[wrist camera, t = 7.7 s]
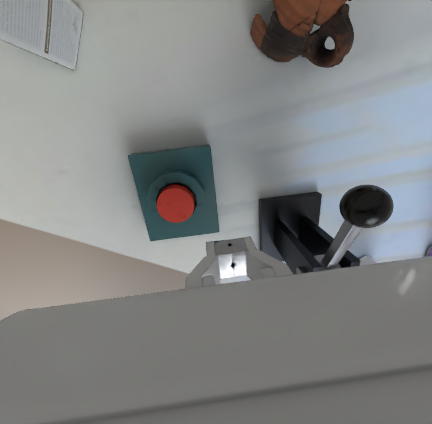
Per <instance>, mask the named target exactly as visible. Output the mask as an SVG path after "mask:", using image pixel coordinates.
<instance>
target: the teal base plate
mask: <svg viewBox="0 0 432 424" xmlns="http://www.w3.org/2000/svg"><path fill="white" fill-rule="evenodd" d="M128 159H129V162H130V166H131V170H132V174H133V177H134V181H135V185H136V189H137V192H138V196H139V200H140V204H141V207H142V211H143V215H144V219H145V223H146V226H147V230H148V234H149V238H150V241H155V240H163V239H171V238H178V237H186V236H194V235H201V234H209V233H217V232H219V223H218V213H217V204H216V195H215V185H214V176H213V167H212V157H211V148H210V145H202V146H193V147H184V148H176V149H167V150H158V151H149V152H141V153H133V154H130V155H128ZM173 184H179V185H183V186H185V187H187V188H188V189H189V190H190V191H191V192H192V194H193V196H194V211H193V213H192V215H191V216H190V217H189V218H188V219H187V220H185V221H183V222H178V223H174V222H170V221H167V220H165V219H164V218H163V217H162V216H161V215H160V214H159V212H158V210H157V199H158V197H159V195H160V193H161V192H162V190H163V189H164V188H166V187H167V186H169V185H173Z"/></svg>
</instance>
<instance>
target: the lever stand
mask: <svg viewBox="0 0 432 424" xmlns="http://www.w3.org/2000/svg"><path fill="white" fill-rule="evenodd" d="M321 197H322V194H320V193H319V192H313V193H305V194H297V195H289V196H281V197H273V198H265V199H259V223H260V251H262V252H264V253H266V254H268V255H270V256H271V257H273V258H275V259H277V260H279V261H285V262H286V264H287V265H288V267H289V268H290V270H291V272H292V273H293V275H294V274H301V273H309V272H316V271H322V265H321V264H320V263H319V262H318V261H317V260H316V259H315V257H314V256H316V255H323V254H326V252H327V250H328V249H329V247H330V245H331V244H332V242H333V240H334V239H333V238H332V237H331V236H330V235H329V234H327V233H326V232H325V231H324V230H323V229H321V228H320V227H319V226H318V224H319V215H320V206H321ZM360 262H361V261H360V260H359V259H358V258H357V257H355V256H354V255H353V254H352V253H351V252H349V251H348V250H347V251H346V253H345V254H344V256H343V257H342V258H341V260H340V261H339V265H340V266H341V268H346V267H354V266H360Z"/></svg>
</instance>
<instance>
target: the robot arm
mask: <svg viewBox="0 0 432 424" xmlns="http://www.w3.org/2000/svg"><path fill="white" fill-rule="evenodd" d="M206 251H207V257H204V258H203V259H202V260H201V262H200V263H199V264H198V265H197V266H196V267H195V268H194V270H193V271H192V272H191V273H190V274H189V275H188V276H187V277H186V285H185V289H180V290H173V291H165V292H158V293H151V294H143V295H135V296H128V297H121V298H113V299H105V300H98V301H90V302H82V303H75V304H68V305H60V306H52V307H46V308H36V309H27V310H23V311H19V312H17V313H14V314H12V315H10V316H9V317H6V318H5V319H3V320H1V321H0V424H432V256H429V257H422V258H414V259H407V260H399V261H392V262H384V263H377V264H369V265H362V266H354V267H346V268H339V269H331V270H324V271H316V272H309V273H301V274H294V275H293V273H292V272H291V270H290V268H289V267H288V265H287V264H285V263H283V262H281V261H279V260H277V259H275V258H273V257H271V256H270V255H268V254H266V253H264V252H262V251H260V250H257V249H256V247H255V245H254V243H253V241H252V239H251V237H244V238H238V239H231V240H220V241H214V242H213V241H211V242H206ZM244 275H247V276H248V277H249V278H250V279H251V280H248V281H241V282H233V283H226V284H218V283H219V281H220V280H221V278H228V277H234V276H244Z"/></svg>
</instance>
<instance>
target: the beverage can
mask: <svg viewBox="0 0 432 424" xmlns="http://www.w3.org/2000/svg"><path fill="white" fill-rule="evenodd" d="M429 256H432V245H431V246H430V247H429V249H428V250H427V252H426V257H429Z"/></svg>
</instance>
